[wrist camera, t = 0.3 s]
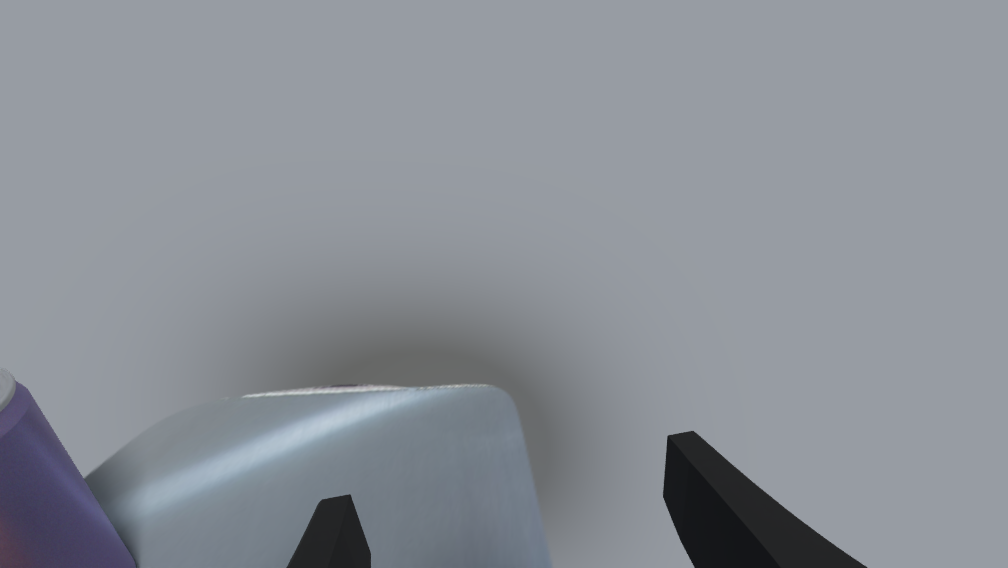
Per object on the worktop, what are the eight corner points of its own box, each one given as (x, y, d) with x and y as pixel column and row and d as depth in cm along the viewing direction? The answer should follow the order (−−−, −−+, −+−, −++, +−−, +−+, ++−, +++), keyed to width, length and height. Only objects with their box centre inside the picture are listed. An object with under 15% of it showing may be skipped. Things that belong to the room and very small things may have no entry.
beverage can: (164, 562, 31) (53, 369, 23) (79, 676, 26) (-98, 477, 18) (77, 546, 32) (-58, 355, 24) (-22, 654, 27) (-232, 456, 19)
